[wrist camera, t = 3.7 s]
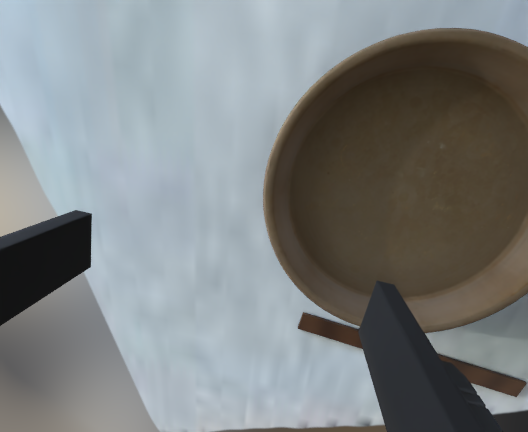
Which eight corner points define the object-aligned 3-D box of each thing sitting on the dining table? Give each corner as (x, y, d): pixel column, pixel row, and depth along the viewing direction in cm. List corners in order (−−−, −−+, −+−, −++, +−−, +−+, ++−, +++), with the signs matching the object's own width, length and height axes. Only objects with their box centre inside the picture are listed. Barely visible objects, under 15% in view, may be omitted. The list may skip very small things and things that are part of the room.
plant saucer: (634, 105, 28) (696, 101, 23) (457, 346, 38) (477, 374, 33) (329, -5, 28) (334, -29, 24) (235, 259, 38) (226, 276, 34)
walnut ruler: (297, 326, 40) (297, 328, 40) (303, 312, 39) (303, 313, 39) (514, 394, 39) (516, 397, 38) (524, 380, 38) (526, 383, 37)
